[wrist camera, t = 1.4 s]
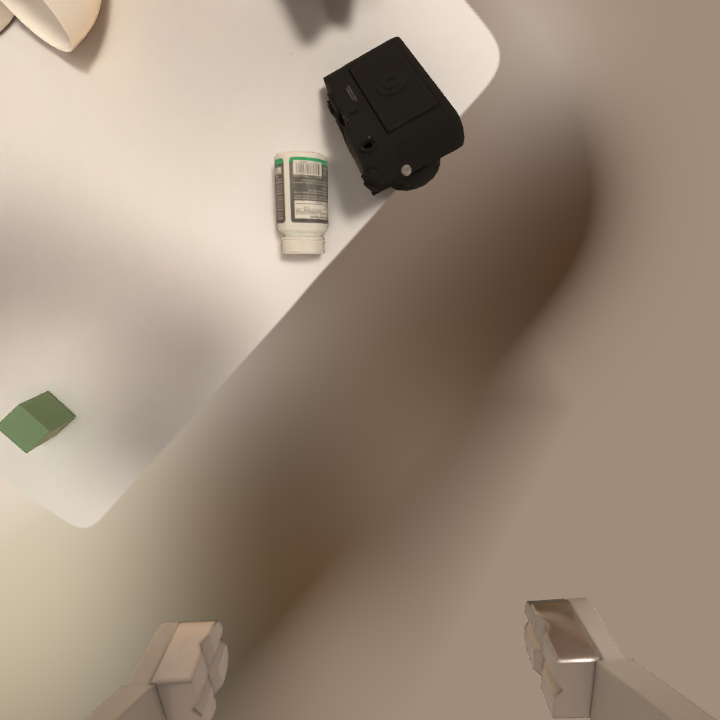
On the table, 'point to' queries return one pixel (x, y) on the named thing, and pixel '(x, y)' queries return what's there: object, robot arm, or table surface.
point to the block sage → (35, 421)
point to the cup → (57, 19)
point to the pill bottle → (302, 201)
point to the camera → (393, 117)
